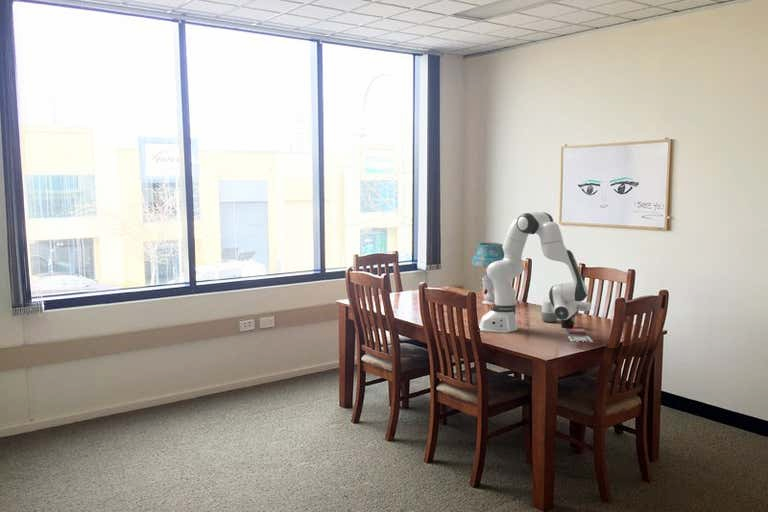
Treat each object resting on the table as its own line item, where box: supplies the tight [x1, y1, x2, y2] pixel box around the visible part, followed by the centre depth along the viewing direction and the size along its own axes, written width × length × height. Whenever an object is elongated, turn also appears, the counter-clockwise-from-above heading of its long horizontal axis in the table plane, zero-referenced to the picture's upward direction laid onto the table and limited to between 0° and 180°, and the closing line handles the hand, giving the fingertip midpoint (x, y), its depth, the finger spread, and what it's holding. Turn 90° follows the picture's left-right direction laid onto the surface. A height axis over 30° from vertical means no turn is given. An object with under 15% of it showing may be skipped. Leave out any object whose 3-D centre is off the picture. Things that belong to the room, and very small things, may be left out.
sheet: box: [567, 335, 594, 343], centre depth 332 cm, size 11×10×1 cm
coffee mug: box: [560, 316, 576, 330], centre depth 357 cm, size 12×9×10 cm
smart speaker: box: [540, 297, 558, 323], centre depth 371 cm, size 10×9×14 cm
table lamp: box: [471, 242, 504, 306], centre depth 420 cm, size 24×24×40 cm
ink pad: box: [566, 328, 587, 335], centre depth 345 cm, size 9×7×1 cm
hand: (573, 302), depth 342 cm, fingers closed on stamp, 3 cm apart
